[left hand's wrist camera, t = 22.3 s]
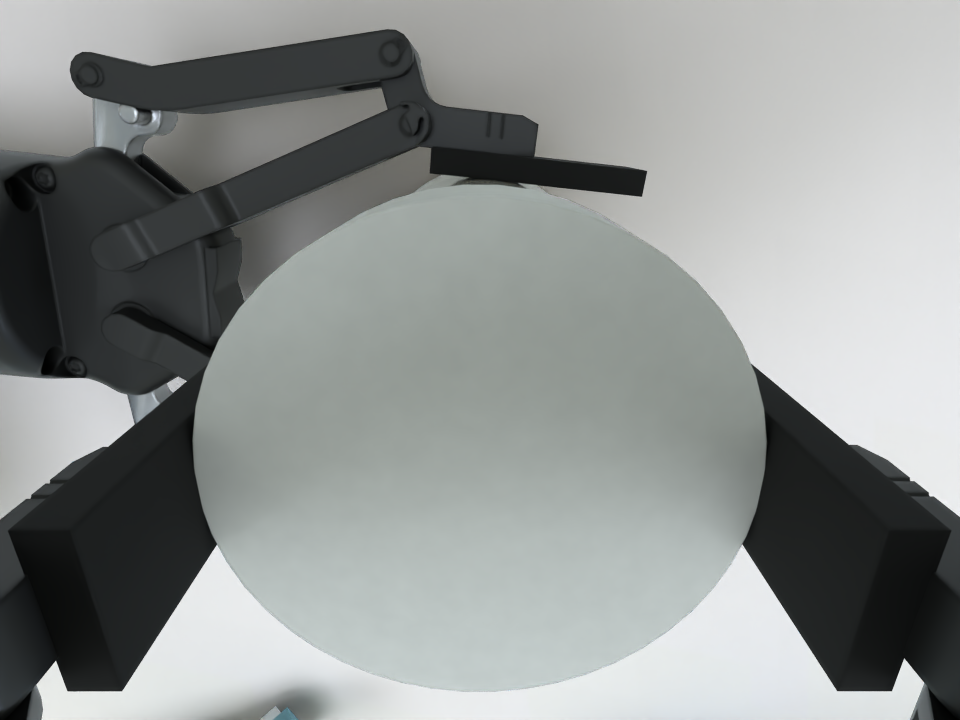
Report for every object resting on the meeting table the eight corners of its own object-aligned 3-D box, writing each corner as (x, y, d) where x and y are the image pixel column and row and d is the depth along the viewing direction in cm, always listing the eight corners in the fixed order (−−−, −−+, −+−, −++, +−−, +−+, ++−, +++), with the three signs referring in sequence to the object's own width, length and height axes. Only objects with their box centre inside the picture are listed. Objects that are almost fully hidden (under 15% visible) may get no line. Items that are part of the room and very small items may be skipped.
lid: (144, 364, 12) (65, 418, 9) (562, 65, 10) (587, 44, 7) (425, 661, 15) (415, 755, 12) (787, 481, 13) (852, 555, 10)
